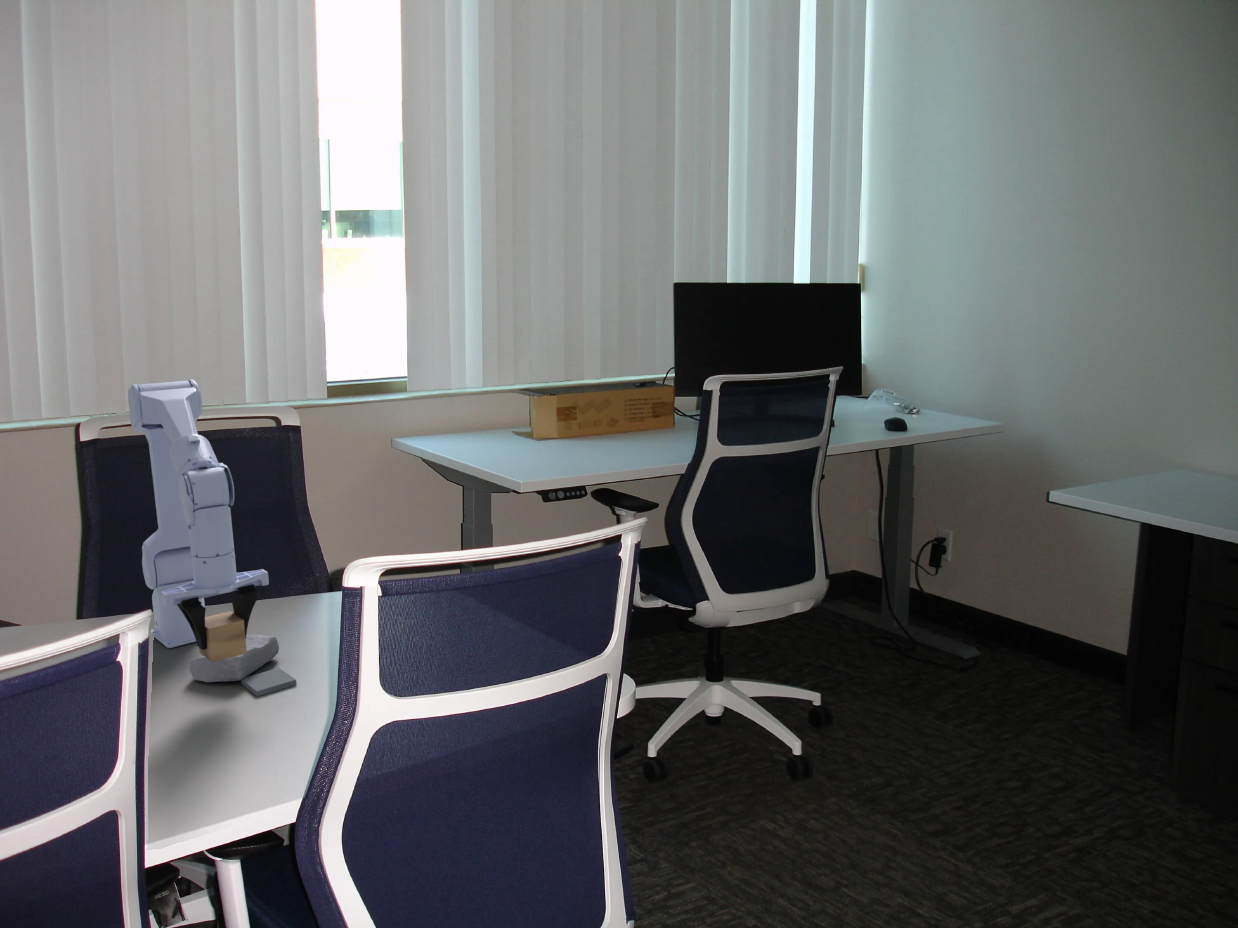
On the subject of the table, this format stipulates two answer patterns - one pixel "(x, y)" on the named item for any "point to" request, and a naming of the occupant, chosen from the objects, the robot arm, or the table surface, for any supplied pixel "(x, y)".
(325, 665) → the table surface
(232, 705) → the table surface
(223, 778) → the table surface
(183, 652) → the table surface
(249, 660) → the stone block
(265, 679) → the charcoal pad
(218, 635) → the tan cube
